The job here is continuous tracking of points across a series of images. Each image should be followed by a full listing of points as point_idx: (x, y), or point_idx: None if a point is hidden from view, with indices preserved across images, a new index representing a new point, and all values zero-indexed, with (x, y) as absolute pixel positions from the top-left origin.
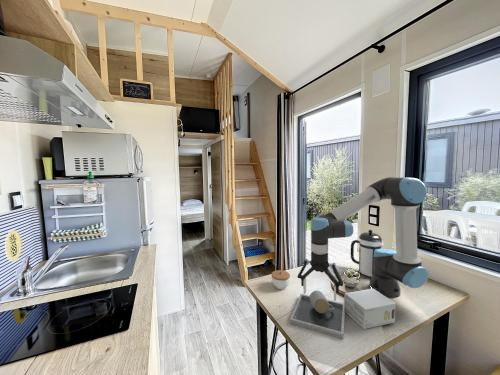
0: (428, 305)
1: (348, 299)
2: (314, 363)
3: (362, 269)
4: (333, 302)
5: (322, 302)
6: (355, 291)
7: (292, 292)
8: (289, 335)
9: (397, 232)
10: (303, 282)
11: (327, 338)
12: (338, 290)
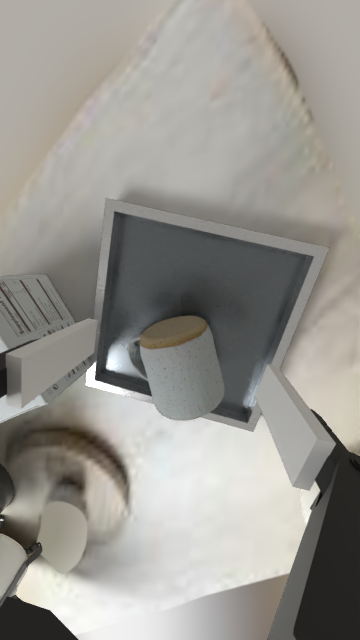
0: None
1: None
2: (240, 15)
3: (7, 569)
4: (126, 389)
5: (166, 334)
6: (2, 421)
7: None
8: (331, 168)
9: None
10: (322, 426)
11: (171, 192)
12: (18, 345)
